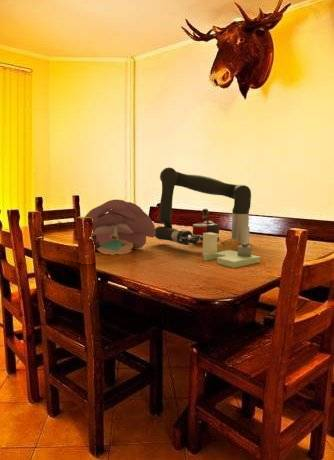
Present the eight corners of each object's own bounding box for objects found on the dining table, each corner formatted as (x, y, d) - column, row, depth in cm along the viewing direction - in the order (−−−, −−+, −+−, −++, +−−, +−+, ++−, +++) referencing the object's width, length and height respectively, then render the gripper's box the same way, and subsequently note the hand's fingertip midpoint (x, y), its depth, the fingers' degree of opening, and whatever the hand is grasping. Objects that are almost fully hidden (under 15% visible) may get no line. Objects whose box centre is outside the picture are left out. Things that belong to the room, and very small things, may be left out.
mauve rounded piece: (90, 267, 166) (87, 209, 156) (75, 249, 185) (71, 196, 175) (156, 253, 183) (157, 200, 172) (136, 237, 202) (136, 189, 191)
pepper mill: (220, 239, 217) (221, 210, 214) (205, 241, 211) (206, 210, 209) (205, 236, 230) (206, 208, 228) (191, 237, 225) (191, 208, 222)
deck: (229, 255, 172) (230, 239, 171) (259, 262, 158) (260, 245, 157) (203, 259, 162) (204, 243, 161) (233, 267, 148) (234, 249, 147)
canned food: (205, 245, 197) (206, 225, 196) (191, 244, 199) (191, 225, 197) (207, 243, 205) (207, 224, 203) (193, 242, 206) (193, 223, 205)
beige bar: (209, 254, 173) (210, 232, 171) (218, 256, 168) (219, 233, 167) (202, 255, 170) (203, 233, 169) (211, 258, 166) (212, 234, 164)
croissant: (211, 260, 178) (214, 247, 173) (204, 247, 185) (207, 235, 181) (249, 256, 184) (253, 244, 179) (240, 244, 191) (244, 232, 187)
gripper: (171, 230, 181) (192, 234, 168) (192, 228, 189) (214, 232, 176) (171, 245, 182) (191, 250, 169) (192, 242, 190) (213, 247, 177)
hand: (203, 241), depth 172 cm, fingers open, 8 cm apart
